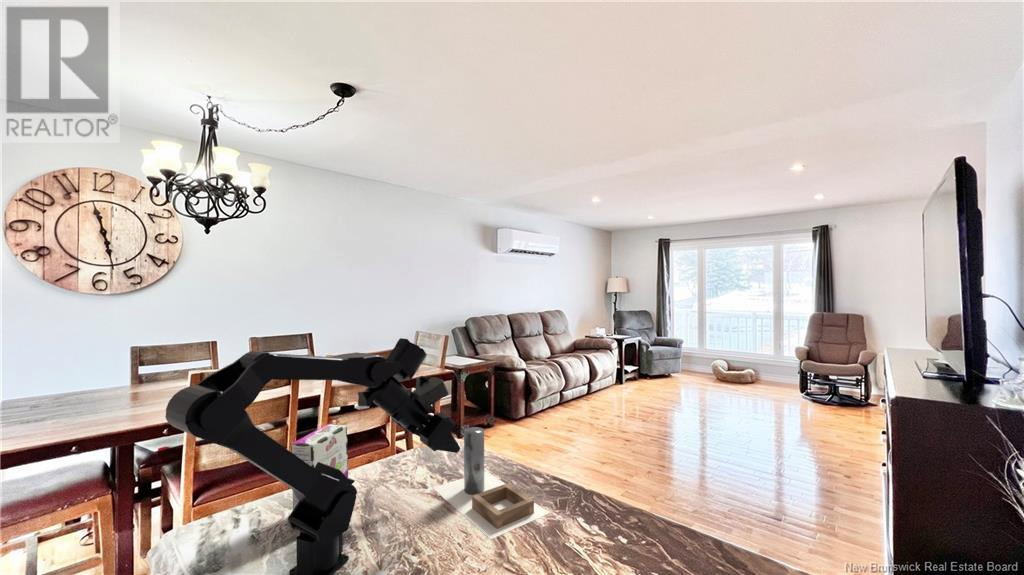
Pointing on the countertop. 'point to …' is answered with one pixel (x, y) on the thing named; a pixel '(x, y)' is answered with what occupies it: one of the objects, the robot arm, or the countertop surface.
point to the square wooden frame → (507, 515)
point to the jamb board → (463, 504)
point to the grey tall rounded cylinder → (474, 460)
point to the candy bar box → (323, 449)
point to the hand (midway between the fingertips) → (447, 443)
